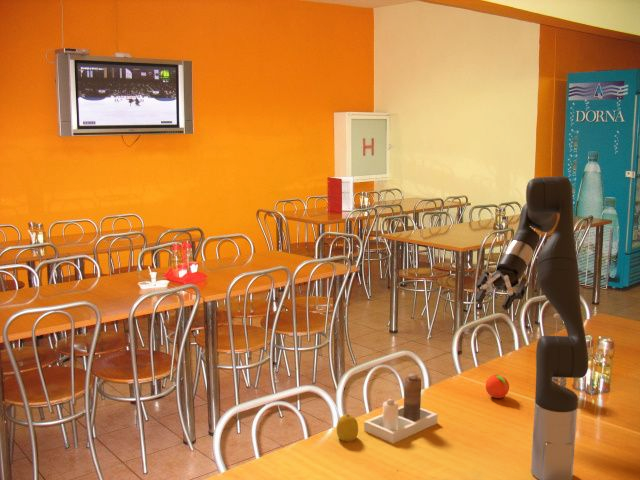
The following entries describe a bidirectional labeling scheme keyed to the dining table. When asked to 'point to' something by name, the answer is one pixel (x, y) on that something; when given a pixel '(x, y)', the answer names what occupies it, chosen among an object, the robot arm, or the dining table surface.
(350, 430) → the lemon
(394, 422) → the salt shaker
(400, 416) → the caddy
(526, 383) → the dining table surface
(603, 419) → the dining table surface
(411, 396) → the pepper mill
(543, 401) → the robot arm
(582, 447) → the dining table surface
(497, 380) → the clementine
